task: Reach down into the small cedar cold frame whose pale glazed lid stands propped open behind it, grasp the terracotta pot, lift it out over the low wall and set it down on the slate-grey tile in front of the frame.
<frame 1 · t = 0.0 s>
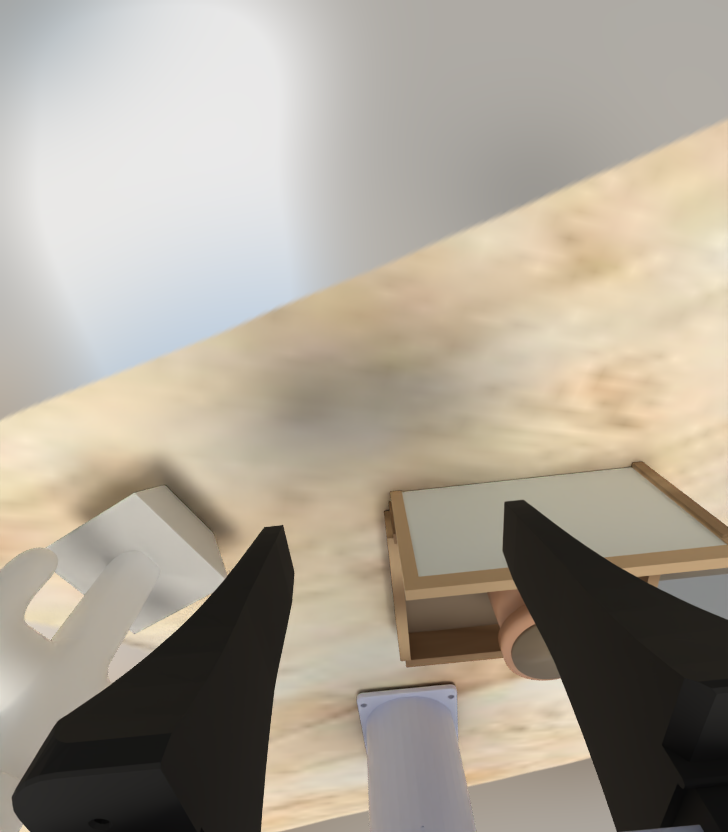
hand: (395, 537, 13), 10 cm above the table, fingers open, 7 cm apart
cold frame: (511, 561, 27), on the table
pot: (514, 567, 26), resting on cold frame
tile: (678, 606, 29), on the table
lid: (515, 482, 24), on the table
figurine: (165, 523, 25), on the table
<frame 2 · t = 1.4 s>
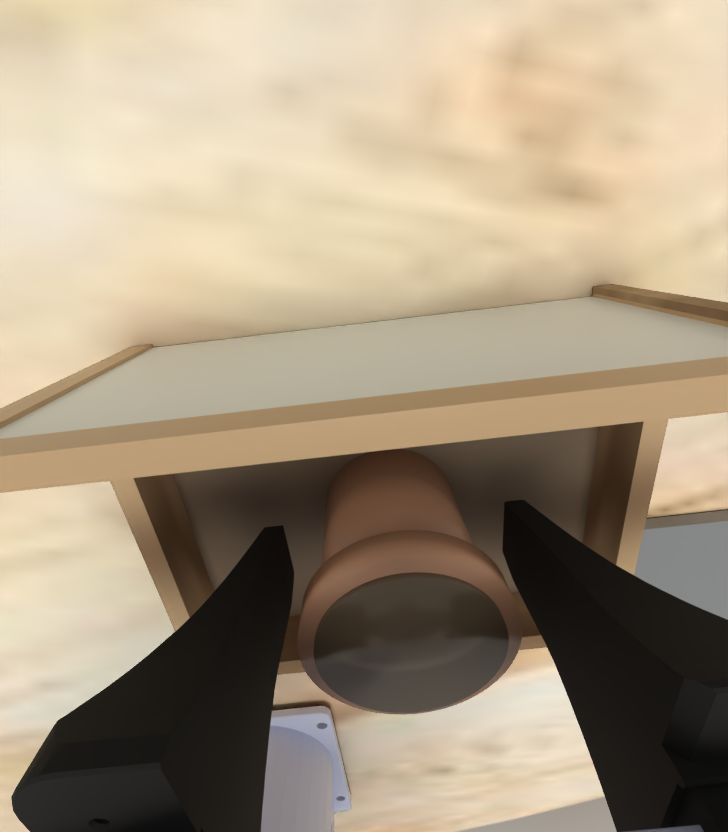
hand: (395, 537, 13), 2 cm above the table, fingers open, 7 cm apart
cold frame: (388, 495, 15), on the table
pot: (389, 502, 15), point 1 cm above the table, touching cold frame
tile: (682, 577, 17), on the table
lid: (371, 328, 13), on the table
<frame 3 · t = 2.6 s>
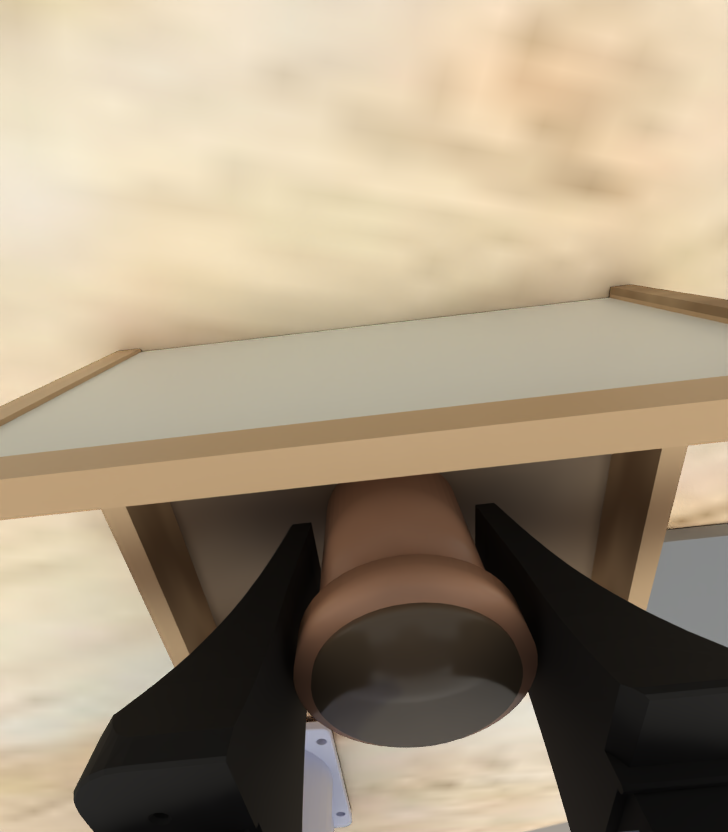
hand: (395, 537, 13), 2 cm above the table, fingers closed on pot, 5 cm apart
cold frame: (390, 506, 14), on the table
pot: (392, 514, 14), point 1 cm above the table, touching cold frame, gripper
tile: (698, 590, 17), on the table
lid: (373, 331, 12), on the table
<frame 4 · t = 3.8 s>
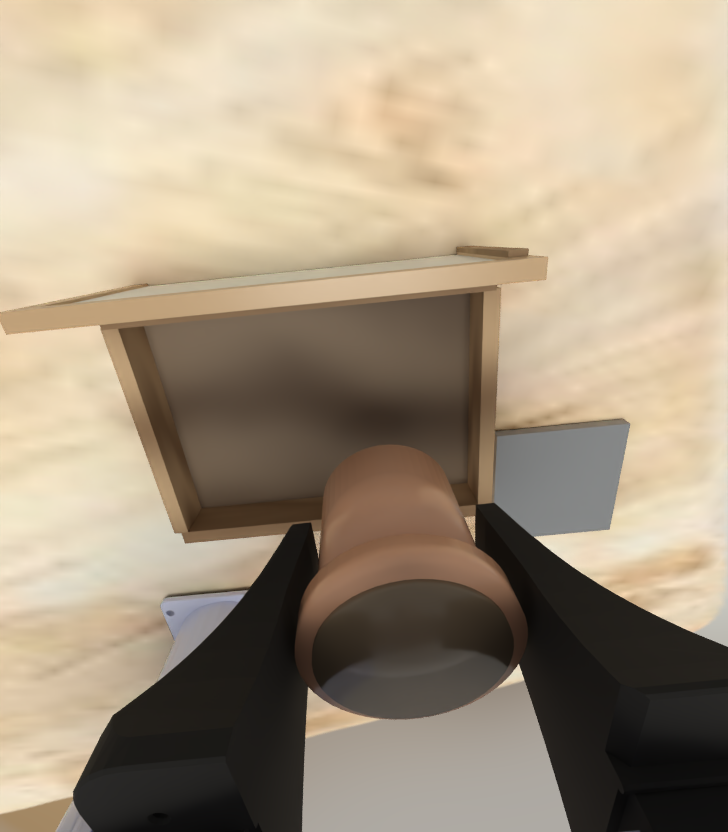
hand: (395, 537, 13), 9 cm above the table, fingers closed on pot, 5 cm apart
cold frame: (321, 405, 21), on the table
pot: (387, 500, 14), point 7 cm above the table, touching gripper
tile: (551, 479, 23), on the table
lid: (302, 275, 18), on the table
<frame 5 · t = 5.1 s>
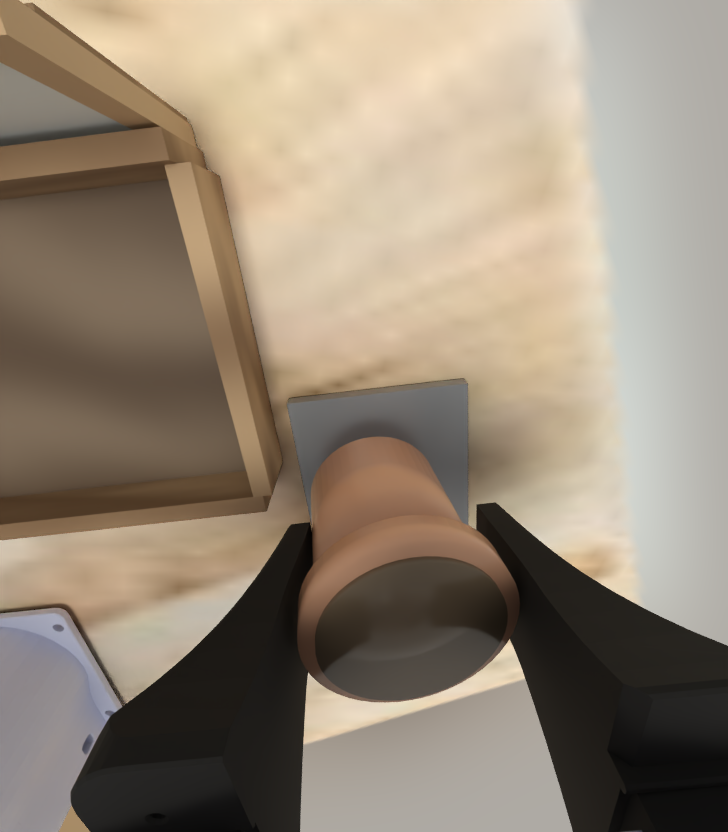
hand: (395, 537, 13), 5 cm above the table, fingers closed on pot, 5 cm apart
cold frame: (41, 363, 15), on the table
pot: (373, 492, 15), point 3 cm above the table, tilted 6°, touching gripper
tile: (383, 463, 17), on the table
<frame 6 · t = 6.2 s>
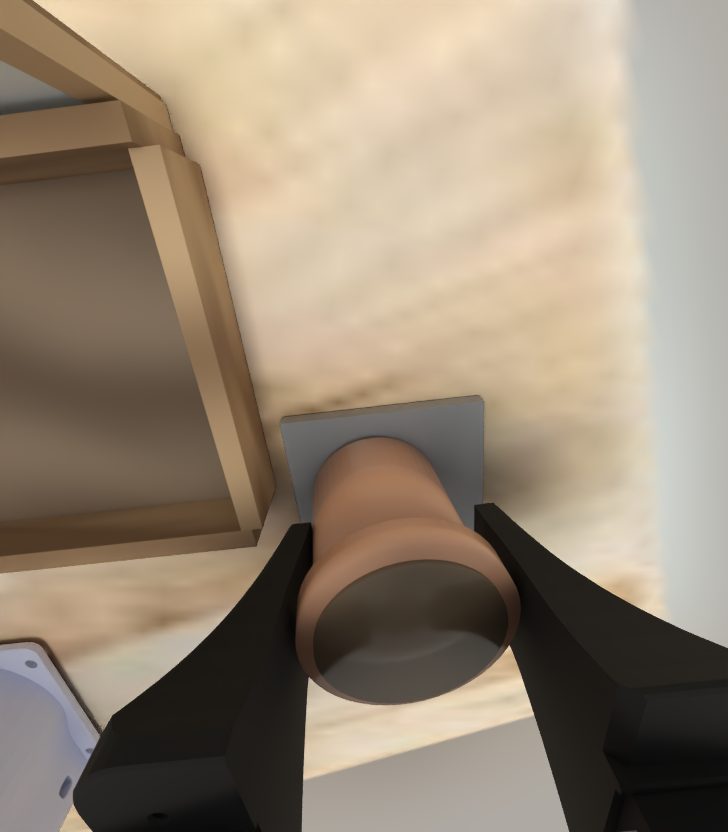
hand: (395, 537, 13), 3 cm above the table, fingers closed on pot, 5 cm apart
cold frame: (1, 379, 13), on the table
pot: (375, 493, 15), point 1 cm above the table, tilted 5°, touching gripper
tile: (388, 488, 15), on the table
when the fingers open (3 cm above the table, at t = 6.4 s): pot stays where it is, resting on tile.
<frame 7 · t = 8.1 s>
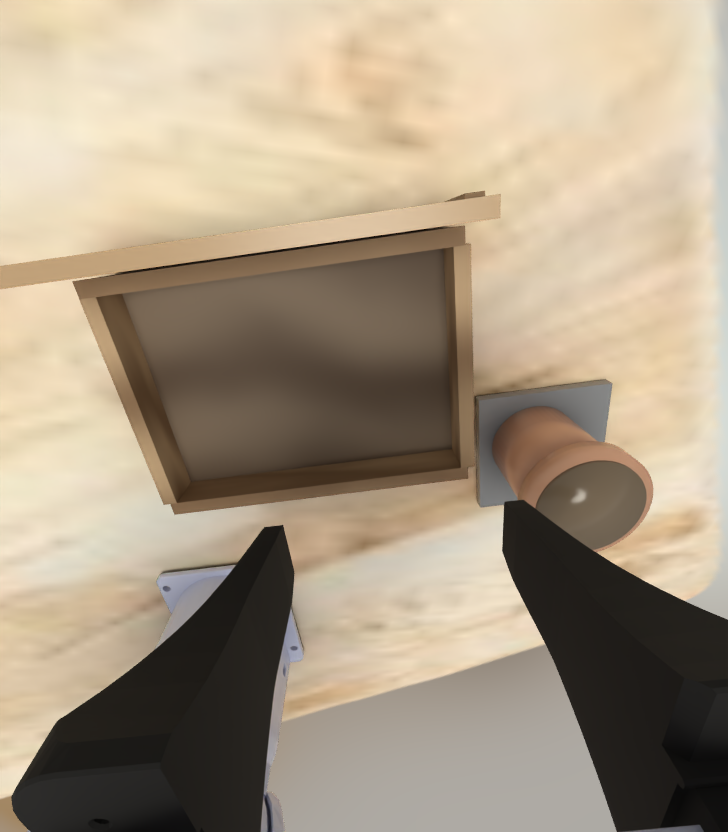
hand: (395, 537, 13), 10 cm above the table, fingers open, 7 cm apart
cold frame: (303, 374, 21), on the table
pot: (533, 444, 22), point 1 cm above the table, touching tile
tile: (537, 444, 23), on the table
lid: (276, 242, 18), on the table
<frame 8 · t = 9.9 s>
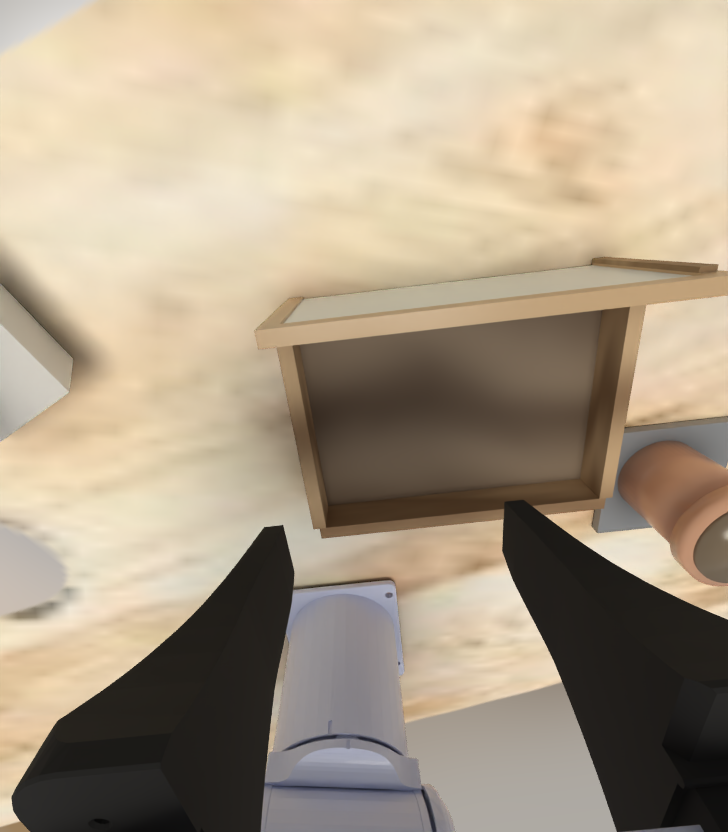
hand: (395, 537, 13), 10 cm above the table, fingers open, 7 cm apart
cold frame: (449, 407, 22), on the table
pot: (657, 475, 23), point 1 cm above the table, touching tile
tile: (657, 474, 24), on the table
lid: (446, 286, 19), on the table
figurine: (11, 345, 20), on the table
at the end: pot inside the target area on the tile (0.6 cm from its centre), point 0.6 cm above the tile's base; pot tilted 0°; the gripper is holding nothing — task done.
